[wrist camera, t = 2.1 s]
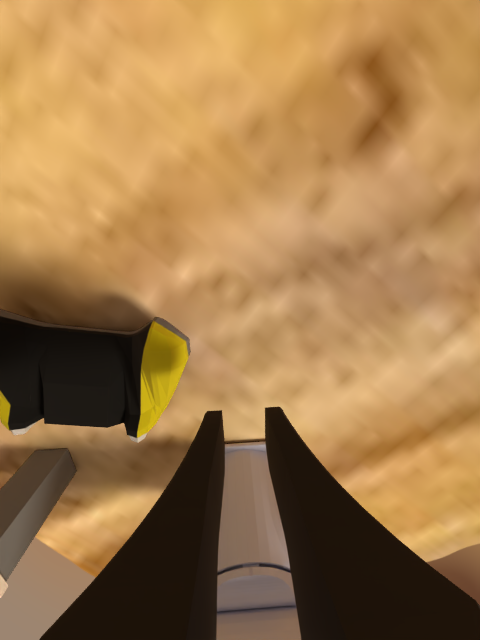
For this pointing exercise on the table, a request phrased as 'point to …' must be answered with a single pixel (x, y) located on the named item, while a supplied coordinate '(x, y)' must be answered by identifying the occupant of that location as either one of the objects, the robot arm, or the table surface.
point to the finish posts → (30, 503)
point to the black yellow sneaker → (87, 374)
